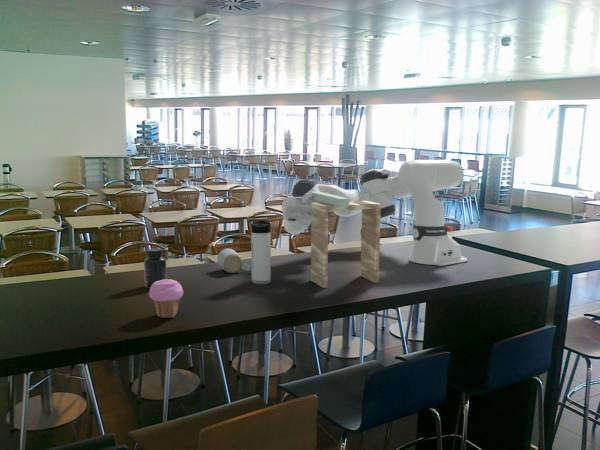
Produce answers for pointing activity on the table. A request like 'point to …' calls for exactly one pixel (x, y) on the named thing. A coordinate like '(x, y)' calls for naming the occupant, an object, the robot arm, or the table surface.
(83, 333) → the table surface
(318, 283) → the frame
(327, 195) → the bar
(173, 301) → the cupcake
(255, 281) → the travel mug
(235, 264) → the ceramic mug
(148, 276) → the supplement bottle
